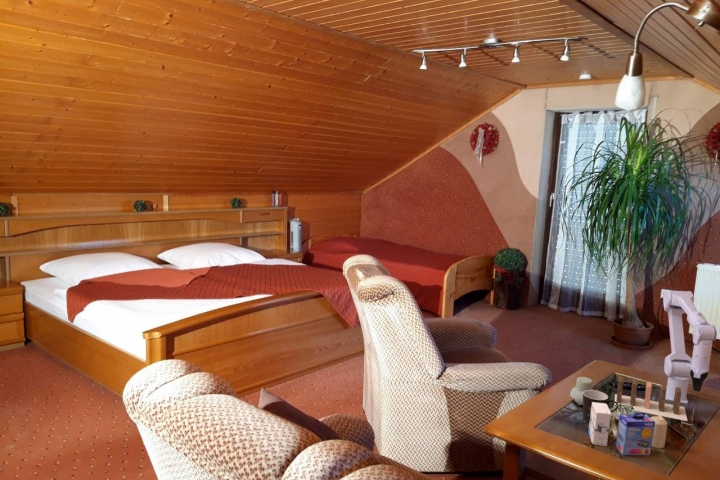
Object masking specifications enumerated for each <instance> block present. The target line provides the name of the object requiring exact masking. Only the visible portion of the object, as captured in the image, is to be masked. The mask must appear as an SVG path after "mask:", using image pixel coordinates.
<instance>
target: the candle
mask: <svg viewBox="0 0 720 480" xmlns="http://www.w3.org/2000/svg"><path fill="white" fill-rule="evenodd" d="M650 418H652V419H653V420H654V421H655V426H654V433H653V439H652V446H651V448H652V447H653V448H656V449H663V448H665V444H666V438H667V429H668V421H667V420H666V419H665V418H664V416H660V415H653V416H650Z"/></svg>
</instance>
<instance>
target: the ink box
mask: <svg viewBox="0 0 720 480" xmlns="http://www.w3.org/2000/svg"><path fill="white" fill-rule="evenodd" d="M610 411H611V410H610V408H609V406H608V405H607V404H604V403H596V402H592V407H591V415H590V423H588V431H587V433H588V437H589V438H590V441H591V443H592V445H596V446H602V447H607V446H608V439H609V432H610V427H611V426H610V425H611V420H612V419H611V418H612V413H611V412H610Z"/></svg>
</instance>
